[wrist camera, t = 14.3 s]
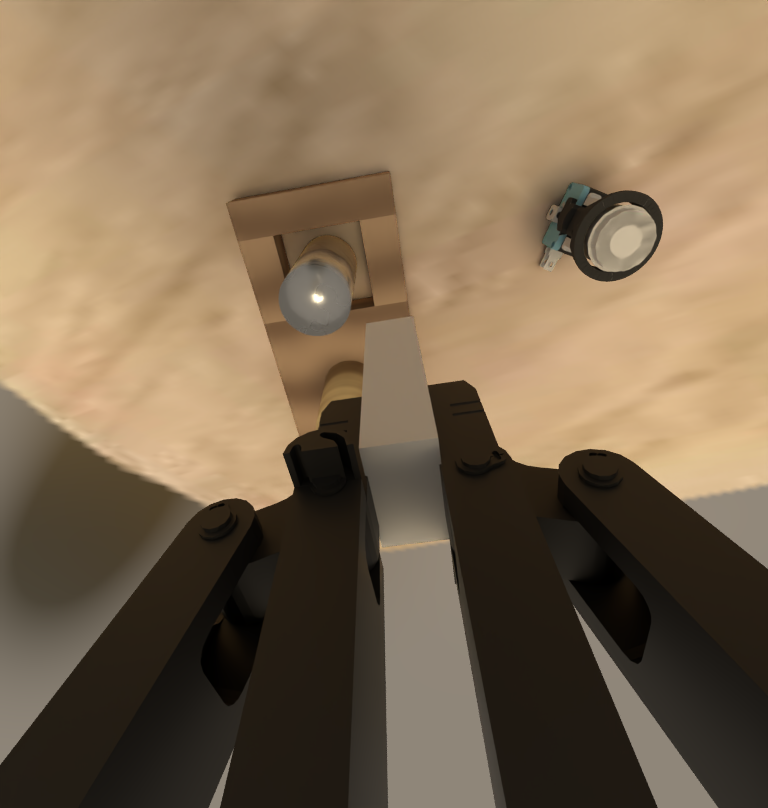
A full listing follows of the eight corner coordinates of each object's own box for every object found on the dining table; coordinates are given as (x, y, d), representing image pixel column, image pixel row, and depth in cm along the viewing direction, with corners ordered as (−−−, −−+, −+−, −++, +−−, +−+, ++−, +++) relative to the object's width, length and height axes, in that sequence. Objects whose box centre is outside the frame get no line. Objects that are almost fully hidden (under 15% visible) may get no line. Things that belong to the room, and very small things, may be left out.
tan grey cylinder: (295, 240, 36) (269, 272, 27) (350, 230, 35) (342, 259, 27) (309, 295, 38) (289, 341, 29) (361, 287, 38) (357, 330, 29)
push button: (568, 275, 37) (625, 315, 29) (511, 255, 37) (553, 290, 28) (612, 193, 34) (691, 211, 26) (552, 168, 33) (613, 179, 25)
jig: (235, 199, 34) (188, 218, 25) (389, 171, 33) (393, 182, 25) (306, 431, 45) (289, 499, 37) (422, 414, 44) (433, 480, 36)
